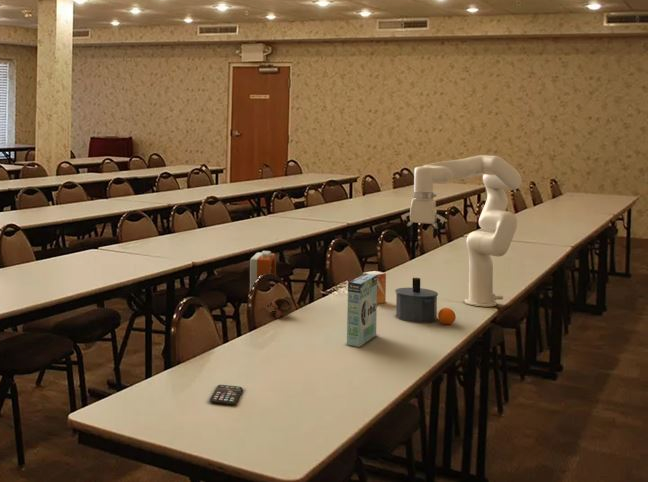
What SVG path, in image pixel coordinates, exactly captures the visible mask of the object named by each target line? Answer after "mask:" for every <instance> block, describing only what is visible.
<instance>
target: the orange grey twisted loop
mask: <svg viewBox="0 0 648 482" xmlns="http://www.w3.org/2000/svg"><path fill="white" fill-rule="evenodd" d="M285 303H286V304H287V305H288V307H286V308H284V307H283V306H282V305H283V304H285ZM271 305H272V307H273V308H274V310H275V311H272V312H270V313H271V314H274V313H275V314H274V316H275V318H276V319H279V318H281V317H284V316H287V315H289V314H290V313H291V312H292V311H293V307H292V303H291V301H290V300H289V299H287V298H284V297H276V298H274V300H273V301H272V302H271V303H270V306H271Z"/></svg>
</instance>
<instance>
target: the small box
mask: <svg viewBox="0 0 648 482" xmlns="http://www.w3.org/2000/svg"><path fill="white" fill-rule="evenodd" d="M365 273H367V274H375V275H377V305H378V304H384V303H385V304H386V302H387V301H386V297H387V296H386V295H387V294H386V293H387V291H386V289H387V286H386V285H387V273H386V272H383V271H377V270H373V271H366V272H363V273H362V275H363V274H365Z"/></svg>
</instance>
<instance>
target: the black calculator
mask: <svg viewBox="0 0 648 482" xmlns="http://www.w3.org/2000/svg"><path fill="white" fill-rule="evenodd" d="M242 392H243V387H242V386H238V385H237V386H236V385H228V384H218V385H217V386H216V388H215V389H214V392H213V393H212V395H211V396H210V399H209V402H210V403H212V404H222V405H231V406H235V405H236V403H237V401H238V399H239V397H240V395H241V393H242Z"/></svg>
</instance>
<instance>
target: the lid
mask: <svg viewBox="0 0 648 482" xmlns="http://www.w3.org/2000/svg"><path fill="white" fill-rule="evenodd" d="M394 292H395V294H396V293H397V294H399V295H403V296H408V297H417V298H430V297H436V296H437V297H438V295H439V293H438V292H437V291H435V290H433V289H428V288H422V287H421V277H412V287H399V288H396V289H395V290H394Z"/></svg>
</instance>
